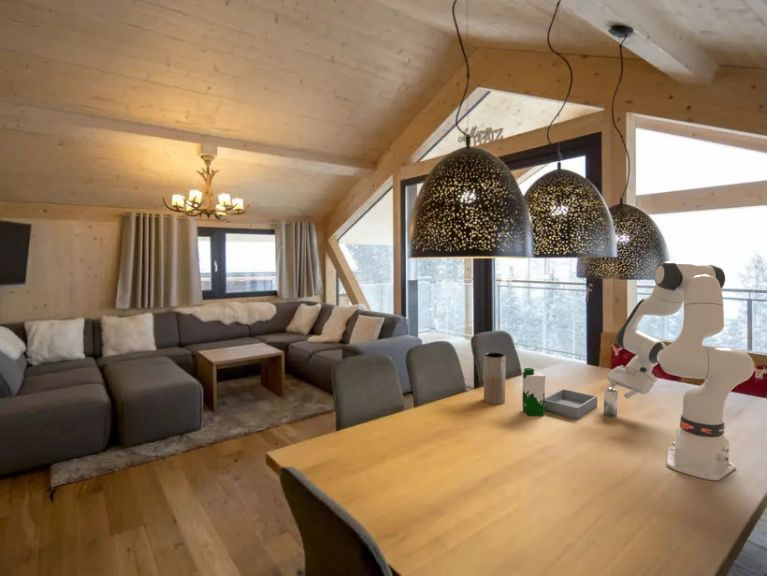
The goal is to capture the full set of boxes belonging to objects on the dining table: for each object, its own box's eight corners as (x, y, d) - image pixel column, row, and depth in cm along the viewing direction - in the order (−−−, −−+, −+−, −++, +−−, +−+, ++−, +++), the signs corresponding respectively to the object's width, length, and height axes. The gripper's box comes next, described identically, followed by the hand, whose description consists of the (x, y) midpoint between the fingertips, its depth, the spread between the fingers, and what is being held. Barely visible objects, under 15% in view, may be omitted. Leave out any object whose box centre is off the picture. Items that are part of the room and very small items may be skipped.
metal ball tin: (614, 418, 185) (615, 390, 184) (601, 415, 189) (602, 388, 188) (618, 415, 189) (619, 388, 188) (606, 412, 192) (606, 385, 191)
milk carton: (520, 409, 196) (520, 366, 195) (540, 409, 196) (540, 366, 195) (526, 416, 188) (526, 371, 186) (547, 416, 188) (547, 371, 186)
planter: (486, 396, 215) (486, 351, 214) (506, 399, 211) (507, 353, 209) (481, 402, 206) (481, 355, 205) (502, 405, 202) (503, 357, 200)
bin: (577, 419, 184) (577, 408, 184) (541, 410, 195) (541, 399, 195) (597, 406, 199) (597, 396, 199) (562, 398, 211) (562, 388, 210)
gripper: (615, 360, 200) (596, 382, 198) (652, 371, 180) (632, 396, 178) (622, 369, 201) (604, 391, 200) (660, 381, 181) (640, 406, 180)
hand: (617, 394), depth 189 cm, fingers open, 8 cm apart
